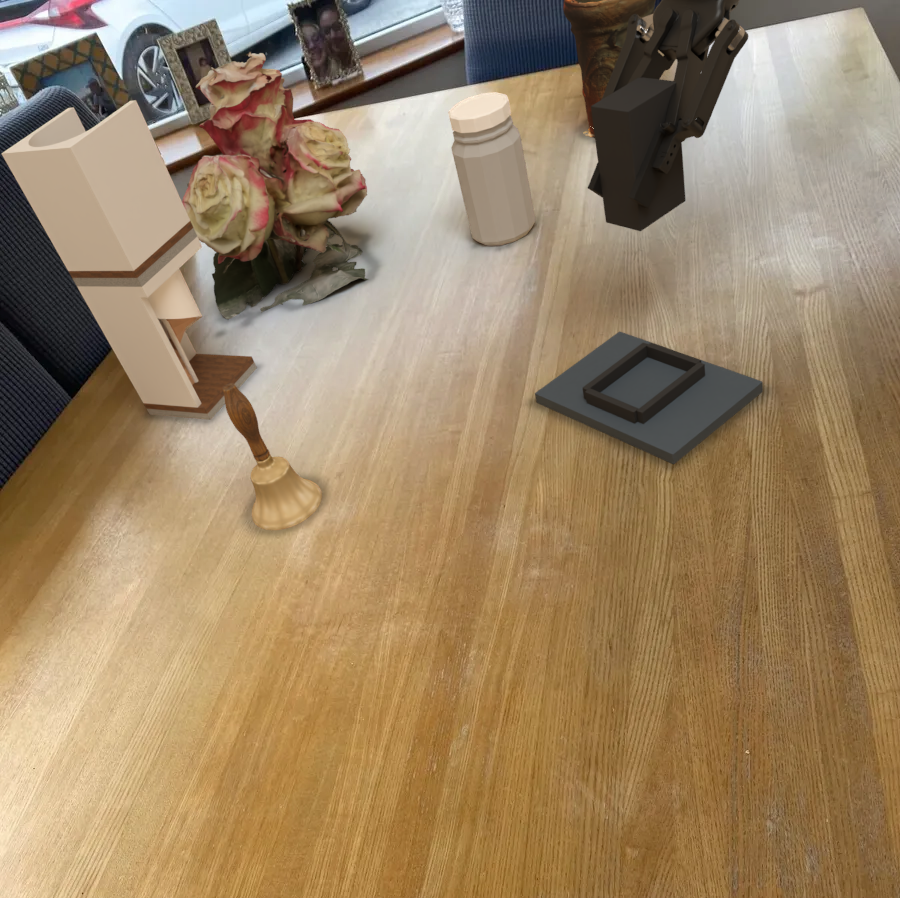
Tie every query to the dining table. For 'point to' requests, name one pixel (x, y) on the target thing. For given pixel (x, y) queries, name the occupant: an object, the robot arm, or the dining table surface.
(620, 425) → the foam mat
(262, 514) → the hand bell
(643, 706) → the dining table surface
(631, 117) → the pad block
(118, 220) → the coffee grinder
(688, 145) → the dining table surface
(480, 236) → the jar
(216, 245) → the rose bouquet
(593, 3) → the vessel
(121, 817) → the dining table surface
